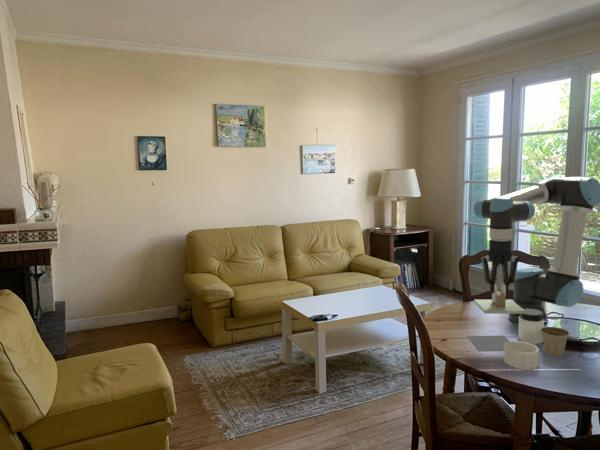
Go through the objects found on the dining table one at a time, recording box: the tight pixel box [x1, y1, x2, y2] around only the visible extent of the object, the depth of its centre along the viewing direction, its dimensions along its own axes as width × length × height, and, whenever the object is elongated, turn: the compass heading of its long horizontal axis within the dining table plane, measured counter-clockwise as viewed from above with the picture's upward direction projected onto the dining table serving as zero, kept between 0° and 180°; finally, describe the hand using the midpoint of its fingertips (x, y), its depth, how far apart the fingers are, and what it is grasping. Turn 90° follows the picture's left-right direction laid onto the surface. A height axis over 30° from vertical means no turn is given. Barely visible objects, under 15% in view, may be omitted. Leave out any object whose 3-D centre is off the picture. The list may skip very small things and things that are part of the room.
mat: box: [466, 335, 511, 352], centre depth 173 cm, size 15×15×1 cm
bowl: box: [502, 340, 540, 372], centre depth 156 cm, size 11×11×6 cm
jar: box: [517, 309, 545, 345], centre depth 174 cm, size 9×8×12 cm
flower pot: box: [540, 326, 570, 357], centre depth 163 cm, size 9×9×9 cm
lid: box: [473, 290, 525, 315], centre depth 166 cm, size 14×14×6 cm
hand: (498, 301), depth 166 cm, fingers closed on lid, 2 cm apart
